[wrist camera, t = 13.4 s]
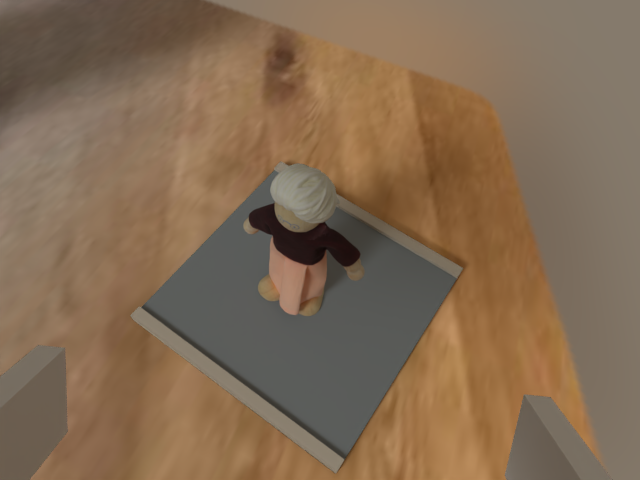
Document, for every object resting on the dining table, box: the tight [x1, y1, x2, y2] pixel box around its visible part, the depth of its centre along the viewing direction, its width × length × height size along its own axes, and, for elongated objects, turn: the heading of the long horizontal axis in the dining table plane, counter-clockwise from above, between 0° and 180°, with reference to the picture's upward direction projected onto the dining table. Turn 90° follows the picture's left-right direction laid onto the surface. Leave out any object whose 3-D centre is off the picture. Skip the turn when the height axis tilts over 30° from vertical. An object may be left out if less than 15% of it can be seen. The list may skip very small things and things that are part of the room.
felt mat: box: [130, 162, 463, 473], centre depth 34 cm, size 16×16×1 cm
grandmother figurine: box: [243, 164, 365, 316], centre depth 29 cm, size 8×4×13 cm, turn 75°
